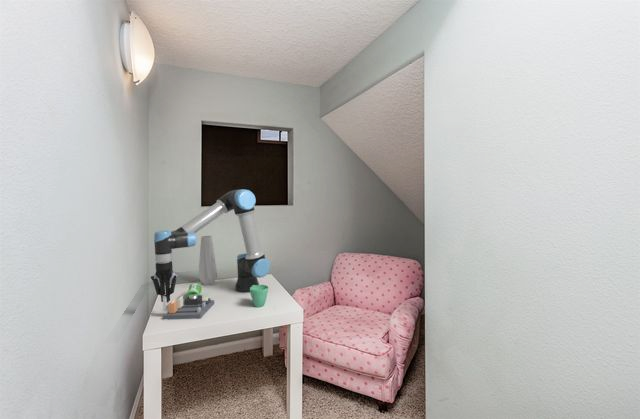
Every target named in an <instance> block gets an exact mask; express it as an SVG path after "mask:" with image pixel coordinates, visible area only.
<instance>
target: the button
mask: <svg viewBox="0 0 640 419" xmlns="http://www.w3.org/2000/svg"><path fill="white" fill-rule="evenodd" d="M197 298H198V294H191V295H189V299H197Z"/></svg>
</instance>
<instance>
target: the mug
mask: <svg viewBox="0 0 640 419" xmlns="http://www.w3.org/2000/svg"><path fill="white" fill-rule="evenodd" d="M268 291H269V286H268V285H264V284H259V285H252V287H250V292H249V293H250V297H251V300H252V303H253V305H254V307H256V308H262V307H264V306H265V304H266V301H267V296H268Z"/></svg>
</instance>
